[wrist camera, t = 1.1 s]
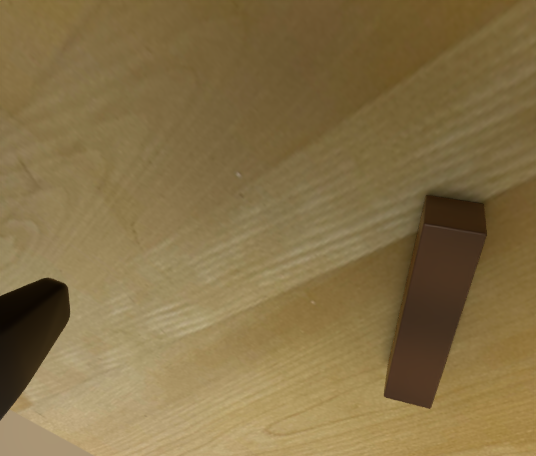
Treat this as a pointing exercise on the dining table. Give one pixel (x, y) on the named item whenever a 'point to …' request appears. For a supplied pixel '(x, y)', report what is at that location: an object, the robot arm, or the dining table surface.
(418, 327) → the stick
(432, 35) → the dining table surface
